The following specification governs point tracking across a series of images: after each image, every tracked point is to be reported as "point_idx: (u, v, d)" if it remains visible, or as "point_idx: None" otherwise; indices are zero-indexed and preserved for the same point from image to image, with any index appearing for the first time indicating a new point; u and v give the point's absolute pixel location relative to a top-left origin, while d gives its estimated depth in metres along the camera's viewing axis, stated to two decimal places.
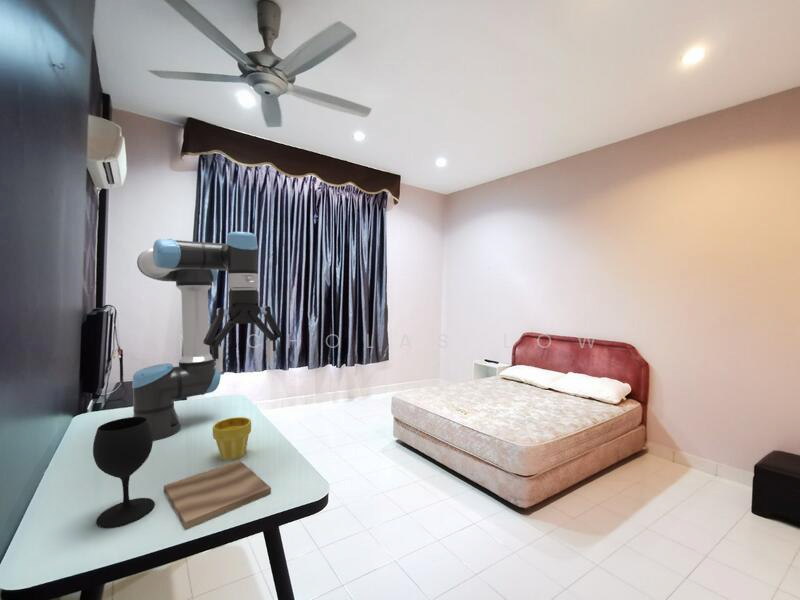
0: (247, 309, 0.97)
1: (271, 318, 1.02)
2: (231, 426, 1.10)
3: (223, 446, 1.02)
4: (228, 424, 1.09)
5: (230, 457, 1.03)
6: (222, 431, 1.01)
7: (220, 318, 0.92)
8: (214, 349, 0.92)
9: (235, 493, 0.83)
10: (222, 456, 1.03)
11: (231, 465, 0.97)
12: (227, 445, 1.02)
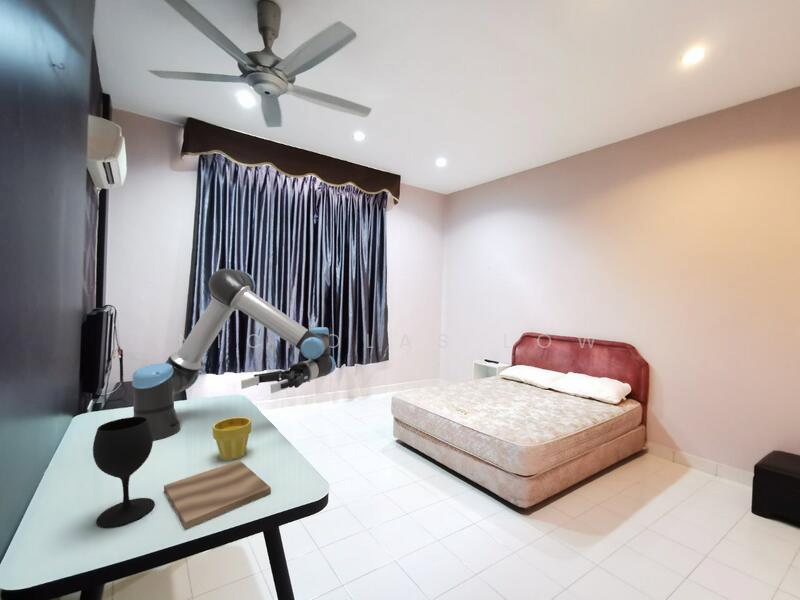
0: None
1: None
2: (231, 426, 1.10)
3: (223, 446, 1.02)
4: (228, 424, 1.09)
5: (230, 457, 1.03)
6: (222, 431, 1.01)
7: None
8: None
9: (235, 493, 0.83)
10: (222, 456, 1.03)
11: (231, 465, 0.97)
12: (227, 445, 1.02)
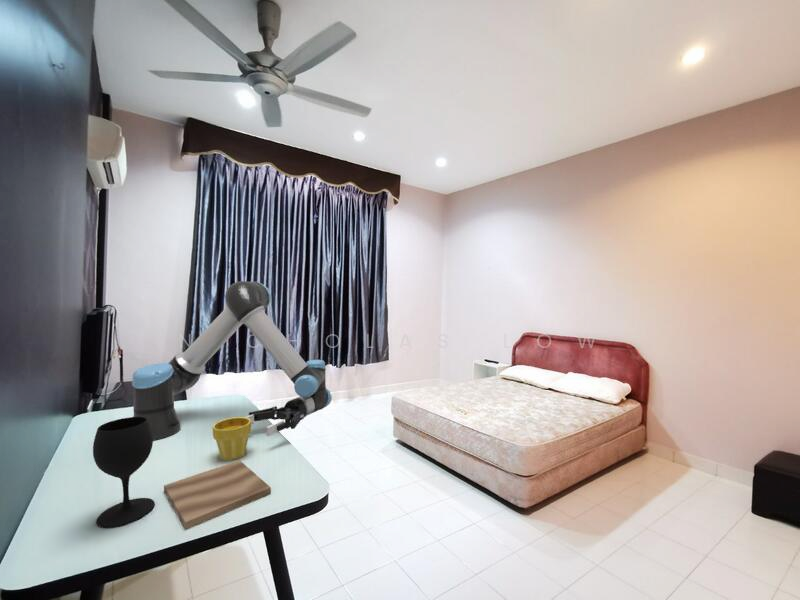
0: None
1: None
2: (231, 426, 1.10)
3: (223, 446, 1.02)
4: (228, 424, 1.09)
5: (230, 457, 1.03)
6: (222, 431, 1.01)
7: None
8: None
9: (235, 493, 0.83)
10: (222, 456, 1.03)
11: (231, 465, 0.97)
12: (227, 445, 1.02)
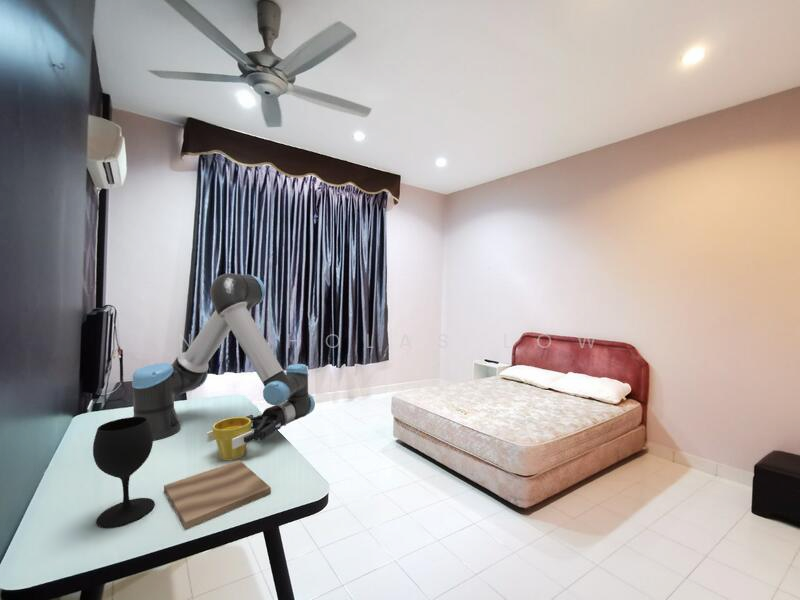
0: None
1: None
2: (231, 426, 1.10)
3: (223, 446, 1.02)
4: (228, 423, 1.09)
5: (230, 457, 1.03)
6: (222, 431, 1.01)
7: None
8: None
9: (235, 493, 0.83)
10: (222, 456, 1.03)
11: (231, 465, 0.97)
12: (227, 445, 1.02)
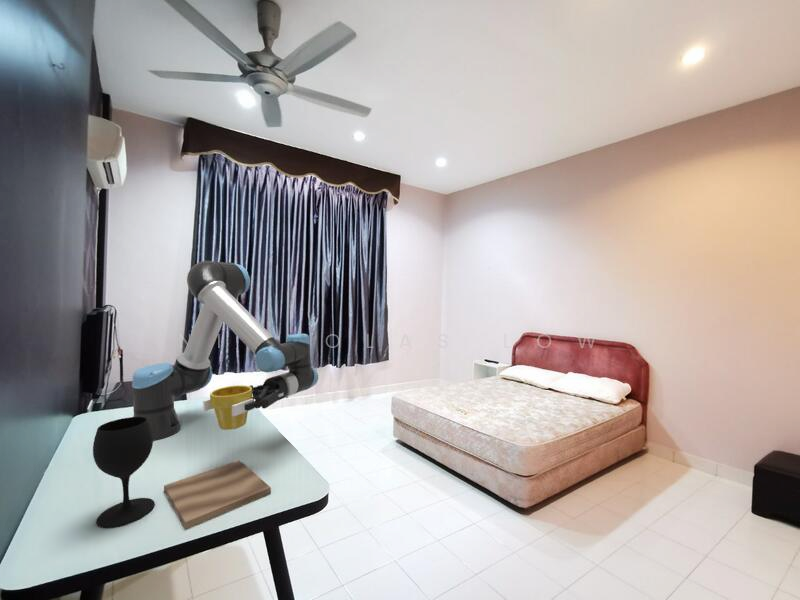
0: None
1: None
2: (230, 395, 1.01)
3: (222, 414, 0.94)
4: (226, 392, 1.01)
5: (230, 426, 0.95)
6: (221, 397, 0.92)
7: None
8: None
9: (235, 493, 0.83)
10: (221, 425, 0.95)
11: (231, 465, 0.97)
12: (226, 413, 0.94)
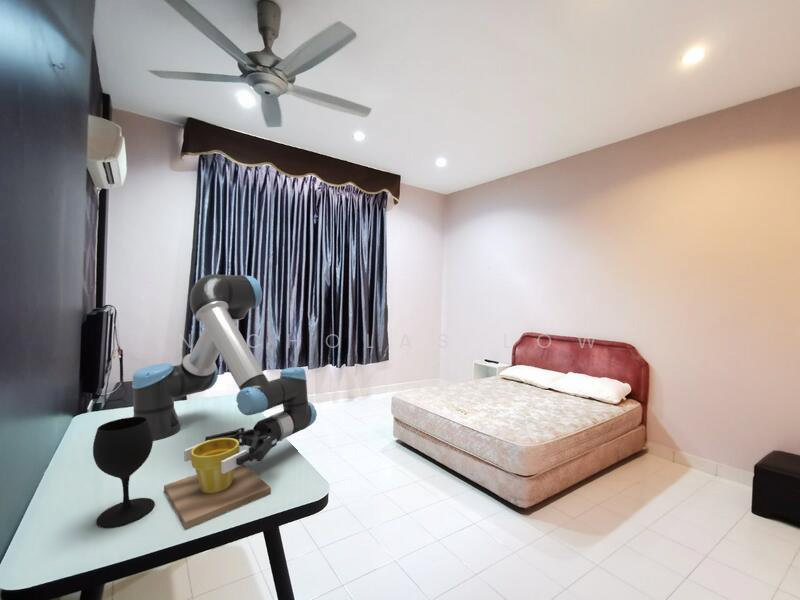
0: None
1: None
2: (215, 449, 0.90)
3: (204, 476, 0.82)
4: (211, 446, 0.90)
5: (213, 489, 0.83)
6: (202, 458, 0.81)
7: None
8: None
9: (235, 493, 0.83)
10: (203, 488, 0.83)
11: None
12: (208, 476, 0.82)
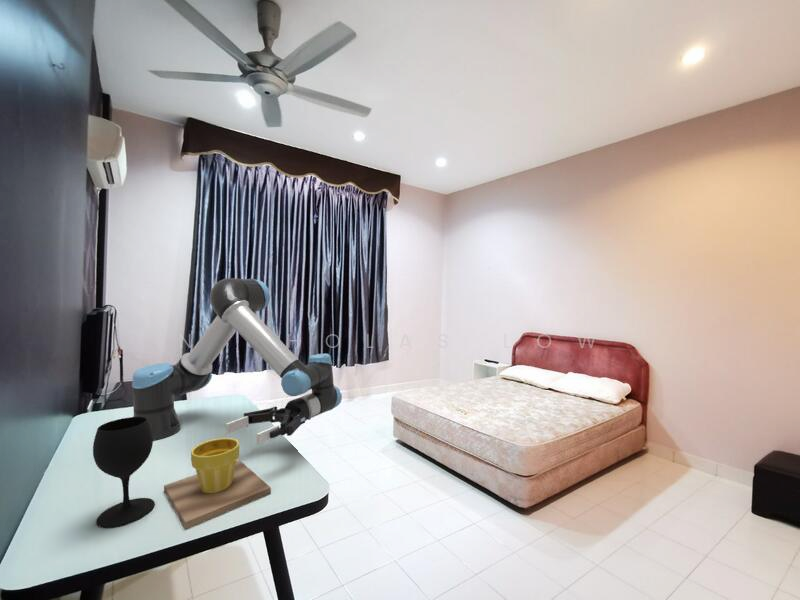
0: None
1: None
2: (215, 449, 0.90)
3: (204, 476, 0.82)
4: (211, 446, 0.90)
5: (213, 489, 0.83)
6: (202, 458, 0.81)
7: None
8: None
9: (235, 493, 0.83)
10: (203, 488, 0.83)
11: None
12: (208, 476, 0.82)
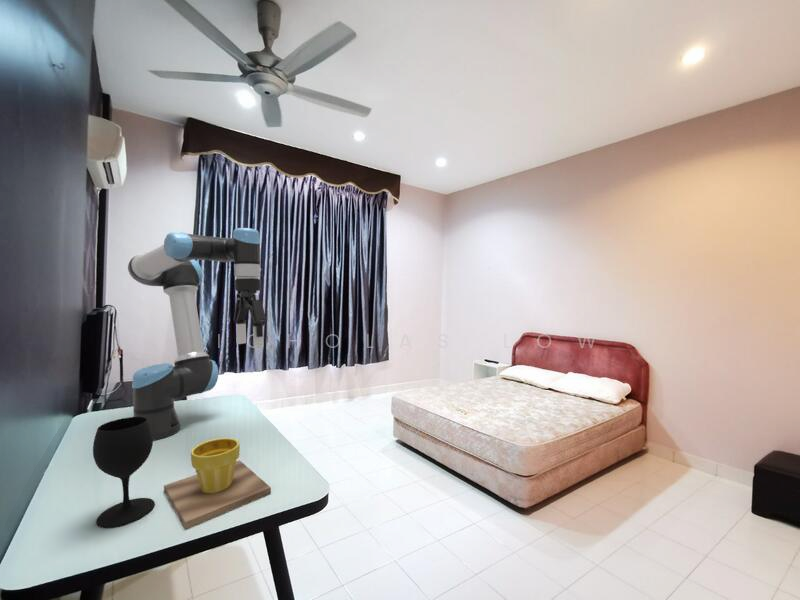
0: None
1: None
2: (215, 449, 0.90)
3: (204, 476, 0.82)
4: (211, 446, 0.90)
5: (213, 489, 0.83)
6: (202, 458, 0.81)
7: None
8: None
9: (235, 493, 0.83)
10: (203, 488, 0.83)
11: None
12: (208, 476, 0.82)
